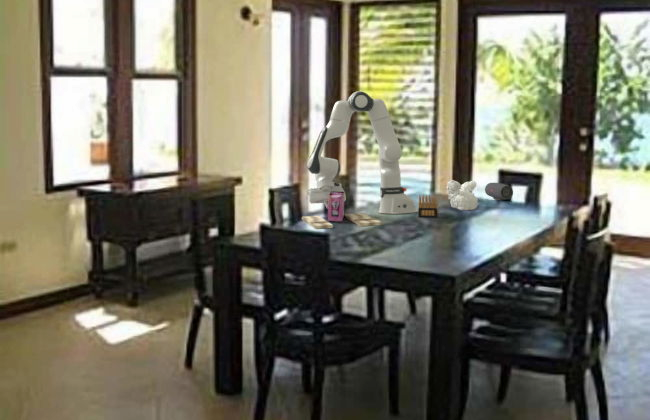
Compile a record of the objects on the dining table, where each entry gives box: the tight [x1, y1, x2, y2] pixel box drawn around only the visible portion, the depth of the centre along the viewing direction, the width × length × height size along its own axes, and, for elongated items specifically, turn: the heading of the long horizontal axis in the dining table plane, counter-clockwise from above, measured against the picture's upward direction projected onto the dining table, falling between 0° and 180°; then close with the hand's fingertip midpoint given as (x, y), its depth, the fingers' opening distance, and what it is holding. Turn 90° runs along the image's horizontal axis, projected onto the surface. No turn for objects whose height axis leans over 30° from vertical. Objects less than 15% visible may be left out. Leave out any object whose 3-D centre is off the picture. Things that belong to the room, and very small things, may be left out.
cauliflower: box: [446, 179, 479, 211], centre depth 508 cm, size 19×20×20 cm
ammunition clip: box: [417, 194, 439, 219], centre depth 475 cm, size 11×2×12 cm, turn 67°
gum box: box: [327, 191, 345, 222], centre depth 480 cm, size 24×8×14 cm, turn 177°
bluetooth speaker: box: [484, 182, 514, 201], centre depth 547 cm, size 23×9×10 cm, turn 14°
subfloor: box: [301, 212, 383, 230], centre depth 468 cm, size 34×40×2 cm
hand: (329, 207), depth 490 cm, fingers closed
